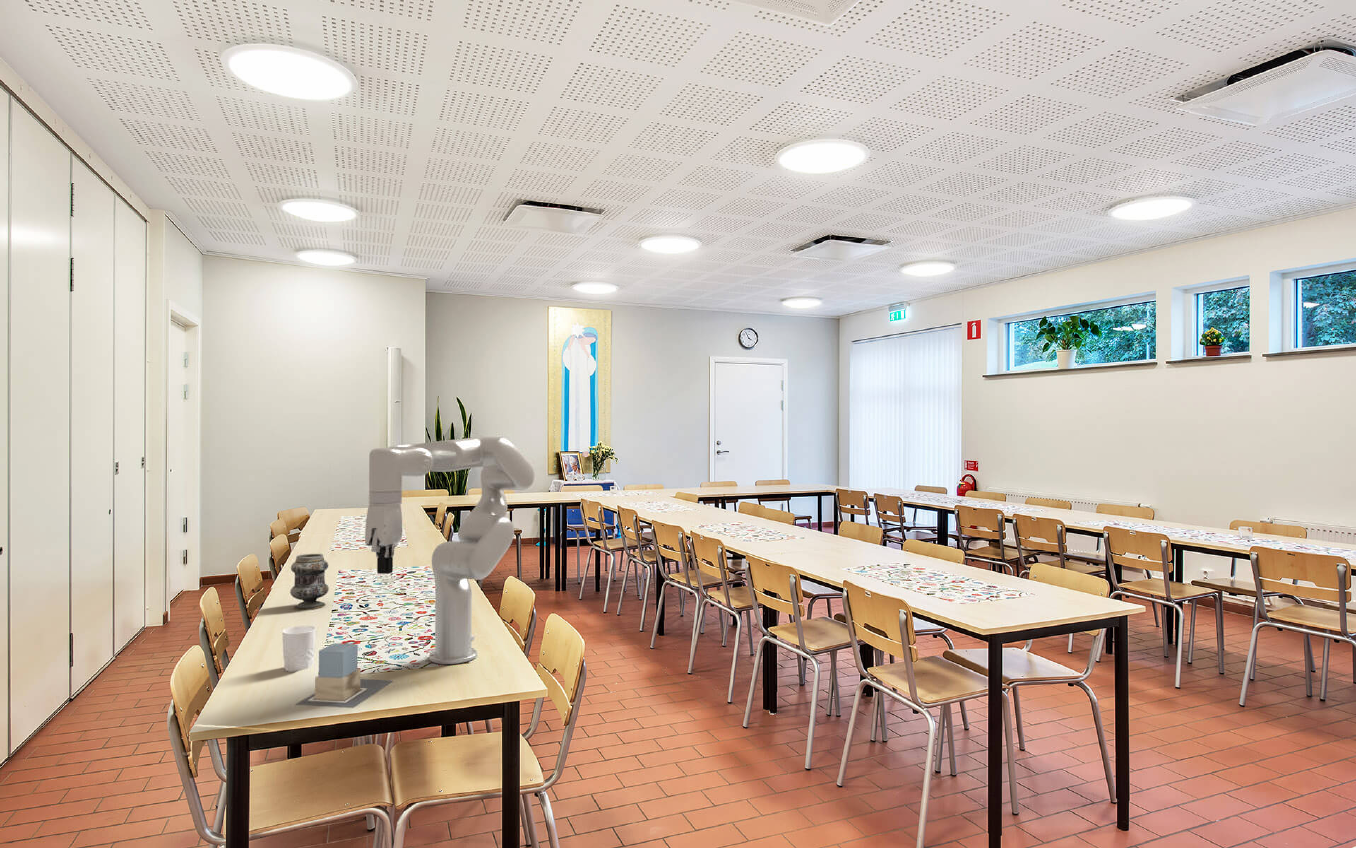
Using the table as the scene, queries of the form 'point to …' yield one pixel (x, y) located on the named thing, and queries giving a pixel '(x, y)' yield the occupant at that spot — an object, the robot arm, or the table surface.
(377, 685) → the mat
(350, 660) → the blue block
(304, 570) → the apothecary jar
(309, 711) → the table surface
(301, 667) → the white cup
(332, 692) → the base block
